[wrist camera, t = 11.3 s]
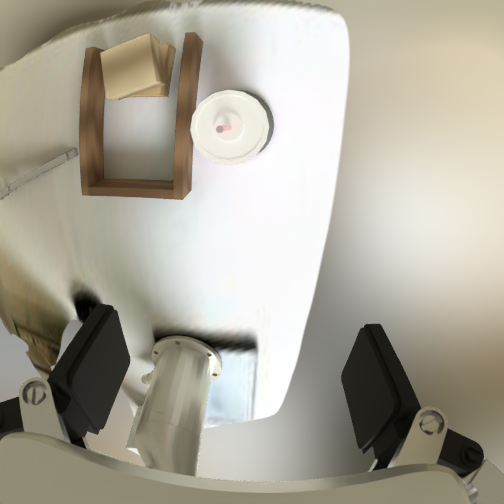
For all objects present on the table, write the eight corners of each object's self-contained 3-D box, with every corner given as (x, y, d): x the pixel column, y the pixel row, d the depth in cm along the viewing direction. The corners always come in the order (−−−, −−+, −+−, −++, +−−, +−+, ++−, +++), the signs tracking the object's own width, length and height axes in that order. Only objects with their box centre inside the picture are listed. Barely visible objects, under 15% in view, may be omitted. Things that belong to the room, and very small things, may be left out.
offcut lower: (168, 96, 27) (159, 95, 24) (123, 97, 27) (111, 96, 24) (176, 49, 24) (168, 44, 21) (130, 52, 24) (119, 47, 21)
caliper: (4, 198, 32) (-19, 211, 26) (3, 192, 32) (-21, 205, 26) (79, 154, 30) (50, 164, 24) (77, 147, 29) (48, 156, 24)
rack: (191, 190, 32) (182, 199, 28) (98, 186, 31) (82, 195, 28) (202, 42, 23) (195, 32, 20) (102, 53, 23) (86, 48, 20)
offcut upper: (165, 84, 24) (156, 81, 21) (119, 99, 24) (106, 99, 21) (159, 39, 21) (149, 32, 18) (113, 57, 22) (100, 52, 19)
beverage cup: (237, 87, 26) (218, 61, 13) (278, 125, 27) (293, 128, 15) (198, 127, 28) (151, 135, 15) (239, 163, 30) (223, 198, 17)
